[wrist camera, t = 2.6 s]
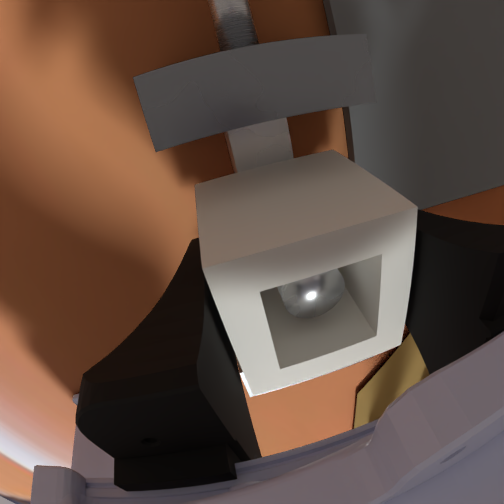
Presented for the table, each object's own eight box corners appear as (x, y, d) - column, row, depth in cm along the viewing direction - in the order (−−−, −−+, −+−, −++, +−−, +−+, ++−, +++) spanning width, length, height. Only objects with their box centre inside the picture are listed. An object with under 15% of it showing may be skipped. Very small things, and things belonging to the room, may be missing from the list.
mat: (353, 222, 15) (359, 227, 15) (313, -35, 9) (319, -39, 8) (505, 178, 16) (512, 182, 15) (498, -5, 9) (506, -4, 9)
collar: (230, 295, 13) (253, 395, 9) (194, 184, 11) (201, 268, 7) (343, 261, 14) (401, 344, 9) (333, 149, 11) (417, 206, 7)
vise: (339, 296, 18) (388, 380, 13) (234, 328, 17) (256, 424, 12) (284, -52, 8) (354, -117, 3) (127, -23, 8) (84, -87, 3)
